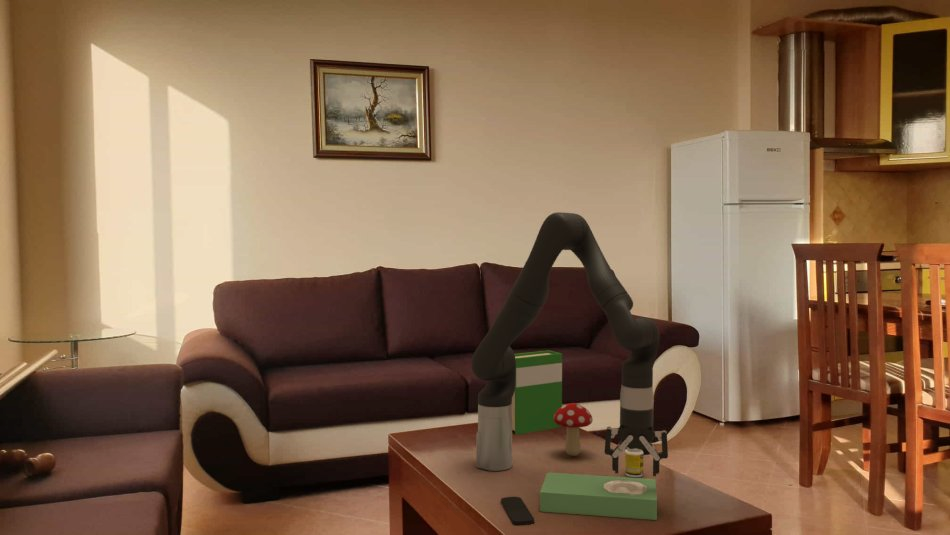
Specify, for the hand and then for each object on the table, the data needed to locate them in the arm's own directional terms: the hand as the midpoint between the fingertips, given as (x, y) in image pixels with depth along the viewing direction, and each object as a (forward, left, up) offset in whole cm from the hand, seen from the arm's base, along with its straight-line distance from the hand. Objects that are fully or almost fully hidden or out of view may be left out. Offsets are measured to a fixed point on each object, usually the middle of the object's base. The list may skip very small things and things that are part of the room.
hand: (635, 473), depth 175 cm
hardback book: (-32, +63, -8) cm, 71 cm away
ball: (-3, 0, -6) cm, 6 cm away
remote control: (-26, -9, -9) cm, 29 cm away
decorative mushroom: (-17, +36, -8) cm, 41 cm away
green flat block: (-8, 0, -8) cm, 11 cm away
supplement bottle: (0, +23, -8) cm, 24 cm away
